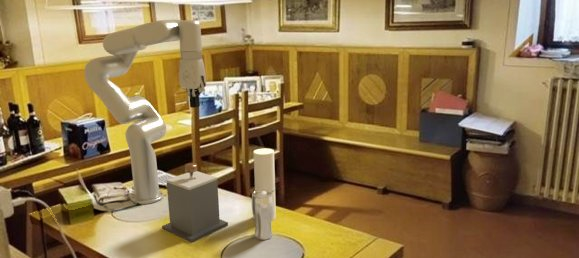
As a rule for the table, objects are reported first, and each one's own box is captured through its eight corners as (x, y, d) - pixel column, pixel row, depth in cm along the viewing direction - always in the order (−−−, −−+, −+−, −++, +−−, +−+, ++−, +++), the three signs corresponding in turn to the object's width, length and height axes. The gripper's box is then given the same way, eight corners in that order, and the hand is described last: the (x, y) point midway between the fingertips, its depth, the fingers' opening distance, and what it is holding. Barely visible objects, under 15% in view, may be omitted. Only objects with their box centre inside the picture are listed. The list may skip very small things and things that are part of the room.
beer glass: (258, 242, 154) (256, 199, 150) (249, 233, 160) (248, 192, 156) (277, 237, 157) (276, 195, 153) (268, 229, 163) (267, 188, 159)
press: (162, 229, 164) (157, 180, 160) (200, 212, 177) (197, 166, 173) (191, 242, 155) (187, 191, 150) (230, 224, 167) (228, 176, 163)
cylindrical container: (276, 213, 175) (275, 148, 169) (274, 222, 168) (272, 154, 162) (257, 213, 176) (255, 148, 170) (254, 221, 169) (251, 154, 163)
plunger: (175, 212, 163) (171, 165, 159) (196, 203, 170) (192, 158, 166) (192, 219, 158) (188, 171, 153) (213, 210, 164) (210, 164, 160)
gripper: (169, 55, 170) (173, 106, 175) (196, 58, 161) (200, 111, 165) (186, 54, 176) (190, 102, 180) (213, 56, 166) (216, 107, 171)
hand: (195, 106), depth 173 cm, fingers closed
